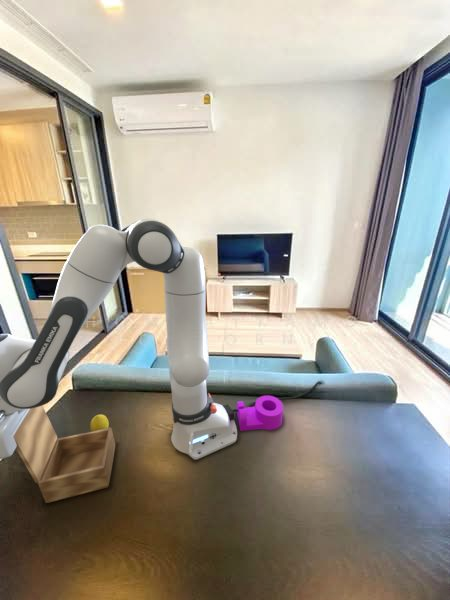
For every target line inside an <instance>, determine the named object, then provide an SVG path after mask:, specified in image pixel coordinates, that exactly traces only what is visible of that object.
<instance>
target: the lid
mask: <svg viewBox="0 0 450 600" xmlns="http://www.w3.org/2000/svg"><path fill="white" fill-rule="evenodd" d="M13 437H14V439H15V442H16V444H17V447H16V449H15V451H17V454H18V455H19V457H20V459H21V460H22V462H23V464H24V465H25V467H26V469H27V471H28V472H29V474H30V475H31V477H32V479H33V481H34V483H35V484H36V483H37V484H38V482H39V480H40V478H41V476H42V473H43V471H44V468H45V466H46V464H47V461H48V459H49V457H50V454H51V452H52V449H53V447H54V445H55V442H56V440H57V439H58V435H57V433H56V431H55V429H54V427H53V424H52V422H51V421H50V418H49V417H48V415H47V413H46V410H45V408H44V405H42V406H39V407H36V408H31V409H29V411H28V413H27V414H26V416H25V418H24V419H23V421H22V423H21V424H20V426H19V428H18V429H17V431H16V433H15V434H14V436H13Z"/></svg>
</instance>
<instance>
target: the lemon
mask: <svg viewBox="0 0 450 600" xmlns="http://www.w3.org/2000/svg"><path fill="white" fill-rule="evenodd" d="M109 425H110V422H109V419H108V418H107V416H106V415H105V414H97V415H95V416H94V417H92V419H91V421H90V432H92V431H97V430H102V429H107V428H110V427H109Z"/></svg>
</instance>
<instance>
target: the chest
mask: <svg viewBox="0 0 450 600" xmlns="http://www.w3.org/2000/svg"><path fill="white" fill-rule="evenodd" d="M115 451H116V442H115V437H114V433H113V428H112V427H108V428H107V429H102V430H97V431H88V432H83V433H79V434H74V435H69V436H64V437H59V438H57V440H56V442H55V445H54V447H53V449H52V452H51V454H50V457H49V459H48V461H47V464H46V466H45V468H44V471H43V473H42V476H41V478H40V480H39V482H37V485H38V488H39V490H40V492H41V495H42V497H43V500H44V503H45V504H48V503H52V502H56V501H60V500H64V499H67V498H72V497H75V496H79V495H83V494H86V493H90V492H91V493H92V492H94V491H99V490H103V489H106V488H109V487H110V481H111V475H112V469H113V463H114V457H115Z"/></svg>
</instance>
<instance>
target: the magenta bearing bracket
mask: <svg viewBox="0 0 450 600" xmlns="http://www.w3.org/2000/svg"><path fill="white" fill-rule="evenodd" d="M277 398H278V397H275V396H273V395H262V396H259V397H258V398H257V399H256V400H255V401H256V403H255V404H254V406H252V407H249V406H246V407H245V404H244V401H243V400H241V401H236V409H237V410H238V412H236V415H237V420H238V425H239V430H240V432H242V431H252V430H253V431H254V430H267V431H269V430H270V431H273V430H276V429H279V428H280V427H281V425H282V423H283V414H284V405H283V402H282V400H279V399H277Z"/></svg>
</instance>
